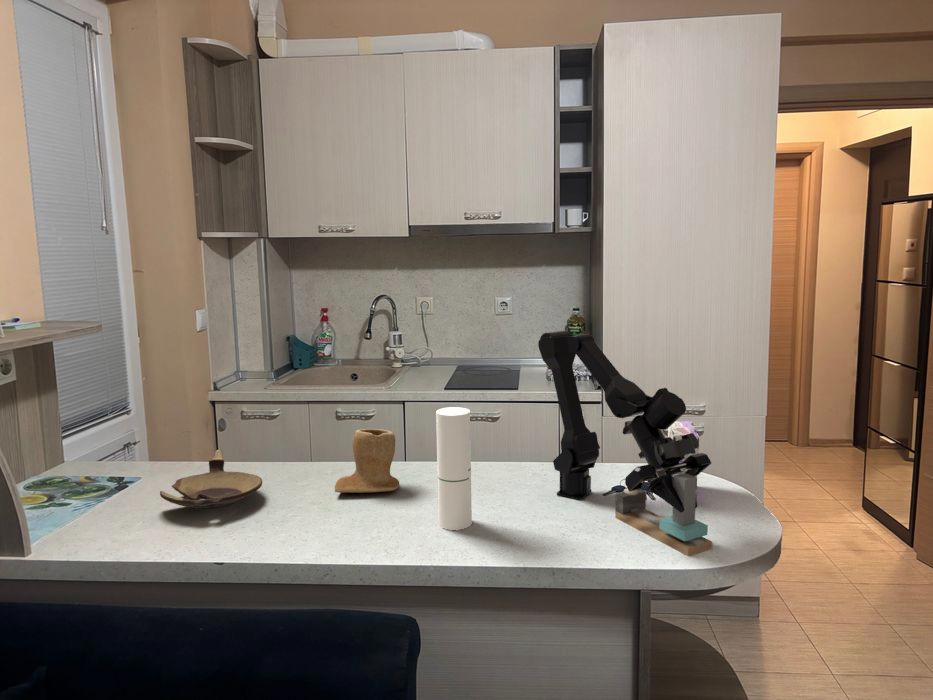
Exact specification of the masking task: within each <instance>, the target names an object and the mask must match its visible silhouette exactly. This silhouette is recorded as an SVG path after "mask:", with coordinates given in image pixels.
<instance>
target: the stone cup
mask: <svg viewBox="0 0 933 700" xmlns="http://www.w3.org/2000/svg"><path fill="white" fill-rule="evenodd" d="M351 442H352V444H351V445H352V446H351V447H352V453H353V458H354V462H355V471H354V473H352V474H351V475H345V476H341V477H340V478H338V479H337V480H336V482H335V485H334V492H335V493H340V494H341V493H343V494H346V493H350V494H355V493H360V494H364V493H381V492H382V493H385V492H392V491H395V490H398V488H399V486H400V480H399V479H398V478H396V477H394V476H392V475H391V466H392V462H393V460H394V457H395V453H396V435H395V433H394V432H393V431H391V430H387V429H380V428H363V429H357V430H355V431H354V433H353V436H352V441H351Z"/></svg>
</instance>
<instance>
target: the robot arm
mask: <svg viewBox="0 0 933 700" xmlns="http://www.w3.org/2000/svg"><path fill="white" fill-rule="evenodd" d="M537 345H538V350H539V353H540V355H541V359H542V361H543V363H544V364H545V365H546V366H547V367H548V368H549V369H550V372H551V373H552V379H553V382H554V383H553V384H554V388H555V392H556V396H557V397H556V398H557V400H558V406H559V412H560V416H561V421H562V425H563V434H562V437H561V440H560V449H561V450H560V451H561V452H560V453H559V454H558V455H557V456H556V458H554V459H553V461H552V462H553V468H554V470H555V471H558V472H559V490H558V491H557V492H556V496H561V497H566V498H571V499H575V500H583V499H585V498H586V497H587V496H588V495H589V494H591V493H592V489H591V488H592V485H591V484H592V476H591V475H590V469H594V468H595V465H596V462H597V461H598V458H599V457H600V449H601V446H600V445H599V442H598V435H597V433H596V431H590V430H589V428H588V427H587V426H586V422H585V419H584V418H585V417H584V414H583V413H584V412H583V409H582V405H581V400H580V396H579V395H580V394H579V391H578V387H577V382H576V377H575V372H574V368H573V367H574V366H573V365H574V362H575V359H576V356H577V357H578V359H579V360H580V361H581V363H582V364H583V365H584V366H585V368H586V369H587V370H588V372H589V373H590V374H591V376H592V377H593V378H594V379H595V381H596V382H597V383H598V384H599V385H600V386H599V387H601V389H602V390H603V392H604V400H605V403H606V405H607V406H608V408H609V410H610V412H611V413H612V414H613V416H615V418H617V419H618V418H619V419H624V418H625V419H626V418H629V417H633V416H635V417H633V419H631V420H629V421H624V425H623V426H624V427H623V429H622V434H623V435H632V437H633V438H634V441H635V442H636V444H637V446H638V448H639V450H640V452H639V453H638V457H639V459H644V460H645V461H646V462H647V464H645V465H640V466H636V467H635V468H634V469H632V471H630V472H629V474H628V475H627V476H625V480H624V481H625V482H624V483H625V486H626V489H627V488H628V490H629V491H635V490H639V489H642V486H643V483H644V482H647V484H648V487H647V488H646V492H650V493H653V494H654V495H656V496H657V497H659V498H660V499H662V500H663V501H665V502H666V503H667V504H668V505H670V506H671V507H672V508H673V507H674V508H675V509H676V510H678V511H679V512H683V511H684V507H683V504H682V502H681V500H680V498H679V496H678V494H677V492H676V490H675V488H674V487H673V485H674V483H673V484H672V475H673V476H674V475H679V474H683V473H686V474H689V475H692V476H697V477H698V476H699V475H700V474H701V473H702V472H703V471H705V470H706V469H707V468H708V467H709V466H711V464H712V460H711V459H710V457H709V456H708V454H707V453H704V452H700V453H699V452H698V454H695V453H696V452H695V449H696V448H699V447H700V442H699V443H698V439H697V438H696V437H695V435H694V434H693V433H690V434H686V435H682V440H678V441H673V439H672V438H670V437H668V436H667V437H666V436H665V434H664V432H663V431H665V430H668V428H669V427H670V426H671V425H672V424H673V423H674V422H675V421H679V419H680V418H681V417H683V415H685V413H686V411H687V406H686V403H685V402H684V400H683V398H681V397H680V396H678V395H677V394H675V393H673V392H670V391H669V390H668V388H667V387H662V388H658V389H657V391H656V392H655V393H654V395H653V396H650V395H648V394H646V393H645V391H644V390H642V388H641V387H639V386H638V385H637V384H636V383H635V382H633V381H632V380H629V379H628V378H627V379H626V378H625V377H624V376H623V375H621V373H620V372H619V371H618V370H617V368H616V367H615V366H614V365H613V363H612V362H611V360H609V359H608V357H607V356H606V355H605V354H604V352H603V351H602V350H601V349H600V347H599V345H597V343H596V342H595V339H594V337H593V336H592V335H591V334H590V333H582V334H581V333H579V334H577V333H575V334H573V333H571V332H569V331H568V330H557V331H550V332H544V333H542V335H541V336H540V338H539V340H538V343H537ZM662 430H663V431H662ZM690 453H691V454H695V455H690V456H689V457H688V458H687V459H686V460H685V461H683V462H682V463H680V464H679V461H681V460H683V459H684V458H685V457H684V456H685V455H686V454H690ZM673 469H674V470H673ZM671 470H672V471H671ZM697 502H698V501H697V500H696V502H695V510H696V509H697V508H698V503H697Z"/></svg>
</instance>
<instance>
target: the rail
mask: <svg viewBox="0 0 933 700" xmlns="http://www.w3.org/2000/svg"><path fill="white" fill-rule="evenodd" d="M646 500H647V490H646V491H645V490H643V489H642V488H640V489H639V490H635V491H629V490H628V488H627V487H626V488H625V489H623V491H620V492H616V493H615V505H614V507H615V512H614V513H615V516H614V517H615V518H616V519H618V520H619V521H621V522H623V523H625V524H627V525H629V526H631V527H632V528H634V529H636V530H638V531H640V532H642V533H644V534H645V535H647V536H650V537H652V538H654V539H655V540H657V541H659V542H661V543H662V544H664V545H666V546H668V547H670V548H672V549H673V550H675V551H677V552H678V553H679V552H680V553H682V554H683V555H686V556H687V557H689V556H693V555H696V554H699V553H703V552H705V550H706V551H710V550H712V549H713V541H712V540H710V539H708V538H706V537H705V536H702V537H699V538H695V539H692V540H688V541H683V540H681V539H679V538H677V537H675V536H673V535H671V534H669V533H667V532H665V531H663V530H661V529H659V524H660V519H662V518H664V517H663V516H661V515H659V514H657V513H655V512H653V511H651V510H649V509H646V504H647V501H646ZM702 551H703V552H702ZM698 552H699V553H698ZM695 553H696V554H695ZM692 554H693V555H692Z"/></svg>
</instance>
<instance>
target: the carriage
mask: <svg viewBox="0 0 933 700" xmlns="http://www.w3.org/2000/svg"><path fill="white" fill-rule="evenodd" d="M674 488H675V490H676V492H677V494H678V496H679V498H680V500H681V502H682V504H683V507H684V511H683V512H679V511H678V510H676V509H675V508H674V507H673V506H672V515H669V516H666V517H663V518H662V519H660V524H659V529H661V530H663V531H665V532H667V533H669V534H671V535H673V536H675V537H677V538H679V539H681V540H683V541H688V540H692V539H695V538H699V537H706V536H708V534H709V533H708V532H709V531H708V529H709V526H708V524H706V523H703V522H702V521H700V520H697V519H696V509H695V502H696V501H697V497H696V477H694V476H692V475H689V474H686V473H683V474H679V475H674Z"/></svg>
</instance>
